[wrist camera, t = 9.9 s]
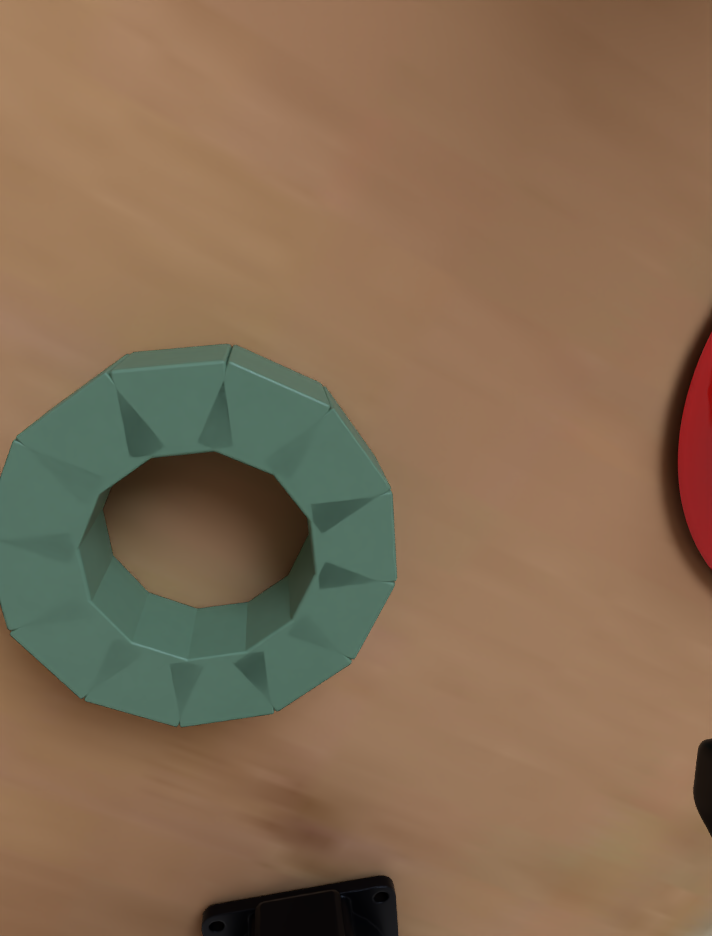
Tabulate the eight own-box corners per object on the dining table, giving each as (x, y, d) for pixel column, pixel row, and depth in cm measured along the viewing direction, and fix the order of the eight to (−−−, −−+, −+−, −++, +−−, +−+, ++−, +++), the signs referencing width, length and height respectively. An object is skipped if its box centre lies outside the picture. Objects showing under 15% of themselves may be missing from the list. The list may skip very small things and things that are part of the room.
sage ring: (387, 642, 19) (403, 695, 17) (68, 686, 18) (41, 748, 16) (368, 330, 16) (385, 345, 14) (-18, 364, 15) (-67, 386, 13)
